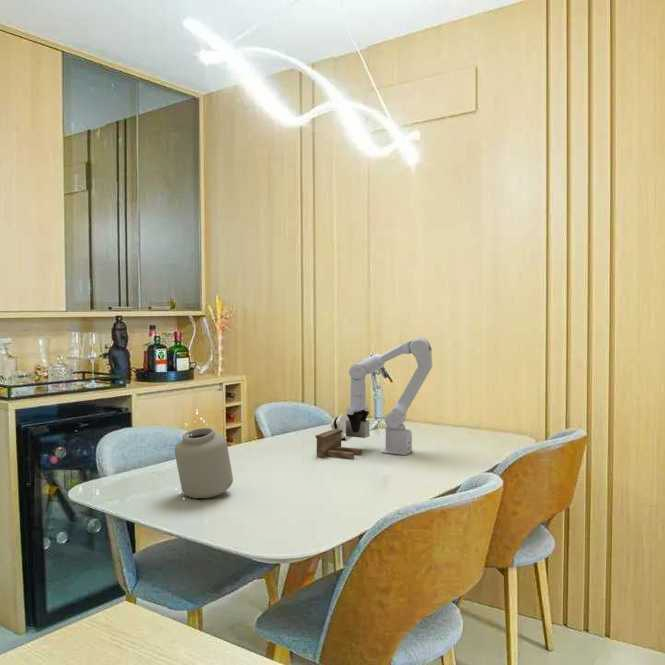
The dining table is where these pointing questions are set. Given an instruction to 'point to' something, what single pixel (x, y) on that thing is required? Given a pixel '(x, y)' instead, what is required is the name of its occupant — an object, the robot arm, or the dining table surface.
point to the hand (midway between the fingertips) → (358, 431)
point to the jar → (203, 463)
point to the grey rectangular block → (362, 431)
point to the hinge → (340, 425)
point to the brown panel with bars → (334, 446)
